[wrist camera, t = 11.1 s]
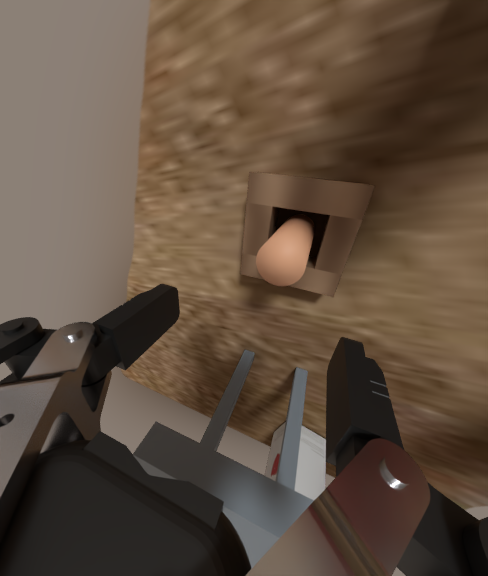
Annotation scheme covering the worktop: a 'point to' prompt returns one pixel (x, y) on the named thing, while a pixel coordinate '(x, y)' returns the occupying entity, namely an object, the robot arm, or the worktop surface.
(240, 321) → the worktop surface
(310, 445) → the supplement box
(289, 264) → the peg
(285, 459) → the grey u-shaped bracket
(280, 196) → the socket block
